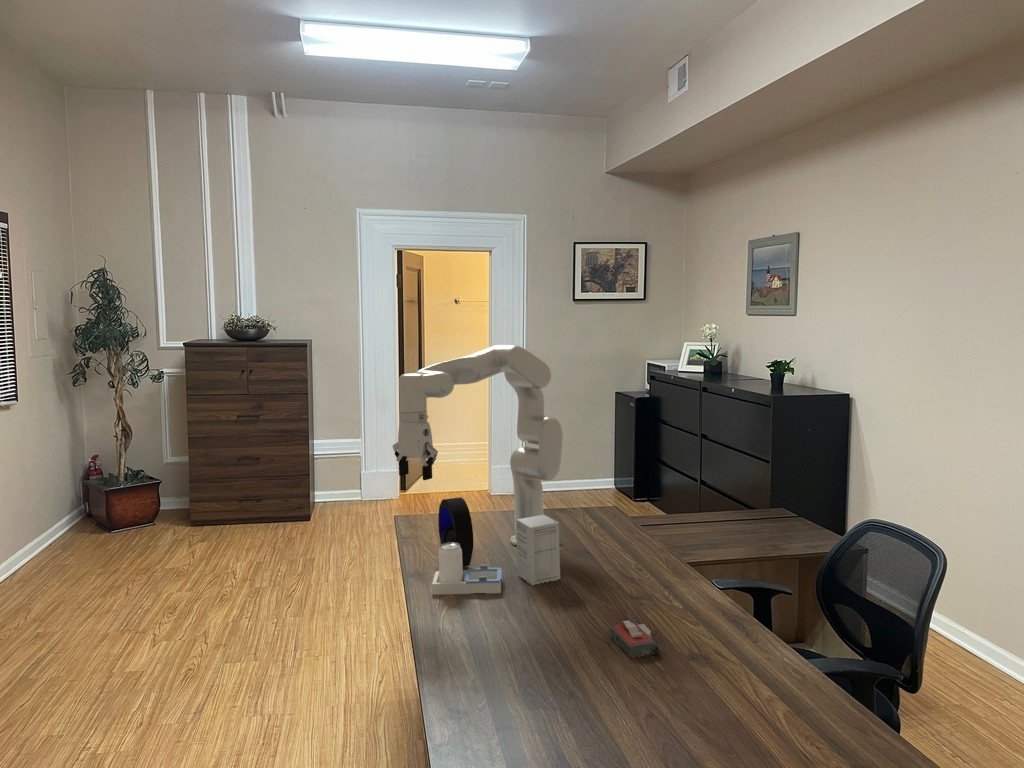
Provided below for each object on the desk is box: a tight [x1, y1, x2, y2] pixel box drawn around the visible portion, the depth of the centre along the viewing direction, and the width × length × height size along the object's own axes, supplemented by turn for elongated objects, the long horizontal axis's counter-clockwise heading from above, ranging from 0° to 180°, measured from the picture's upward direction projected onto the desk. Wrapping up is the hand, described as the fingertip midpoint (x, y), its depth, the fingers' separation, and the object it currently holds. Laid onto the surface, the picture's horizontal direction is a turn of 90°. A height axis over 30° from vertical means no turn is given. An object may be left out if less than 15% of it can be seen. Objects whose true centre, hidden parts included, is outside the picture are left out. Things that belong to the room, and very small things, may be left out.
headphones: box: [437, 497, 474, 567], centre depth 216 cm, size 19×7×20 cm, turn 22°
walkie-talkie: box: [610, 613, 661, 658], centre depth 165 cm, size 9×4×20 cm
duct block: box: [431, 563, 503, 596], centre depth 198 cm, size 19×10×5 cm, turn 90°
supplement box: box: [516, 514, 561, 586], centre depth 204 cm, size 10×9×17 cm
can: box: [438, 542, 464, 582], centre depth 198 cm, size 6×6×12 cm
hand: (415, 477), depth 203 cm, fingers open, 9 cm apart
